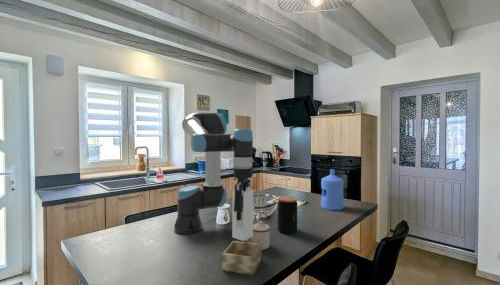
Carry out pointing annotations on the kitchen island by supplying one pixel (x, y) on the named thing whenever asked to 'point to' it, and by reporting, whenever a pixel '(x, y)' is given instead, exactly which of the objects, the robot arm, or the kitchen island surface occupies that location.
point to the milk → (244, 216)
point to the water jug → (332, 192)
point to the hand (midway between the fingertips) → (242, 224)
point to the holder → (241, 257)
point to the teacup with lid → (261, 235)
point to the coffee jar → (287, 214)
